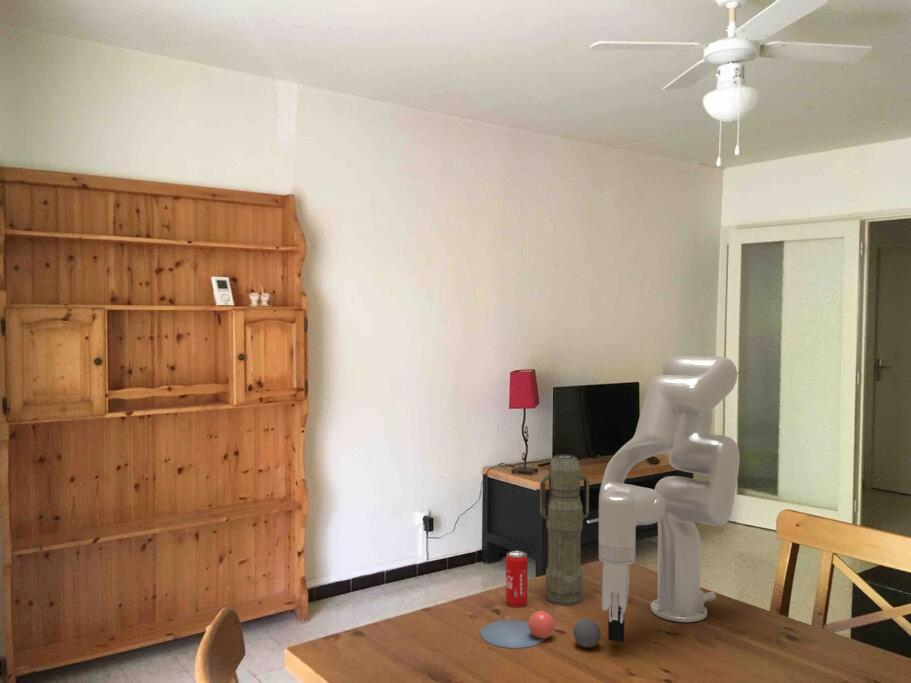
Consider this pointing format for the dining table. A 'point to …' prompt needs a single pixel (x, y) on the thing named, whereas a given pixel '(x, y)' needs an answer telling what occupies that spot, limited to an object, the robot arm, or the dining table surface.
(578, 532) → the thermos
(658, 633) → the dining table surface
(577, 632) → the gray ball
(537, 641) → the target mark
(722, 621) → the dining table surface
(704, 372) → the robot arm
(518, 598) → the beverage can
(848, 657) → the dining table surface
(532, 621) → the red ball
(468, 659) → the dining table surface
